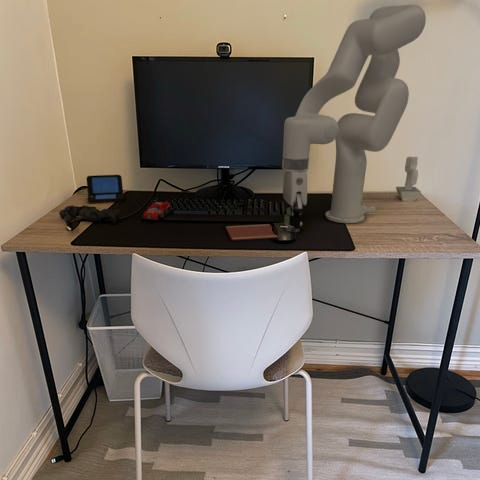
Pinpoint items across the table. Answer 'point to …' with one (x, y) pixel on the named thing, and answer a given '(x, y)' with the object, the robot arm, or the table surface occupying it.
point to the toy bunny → (287, 218)
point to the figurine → (409, 181)
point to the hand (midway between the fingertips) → (291, 225)
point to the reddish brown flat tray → (251, 232)
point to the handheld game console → (104, 188)
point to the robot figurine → (89, 214)
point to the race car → (156, 211)
